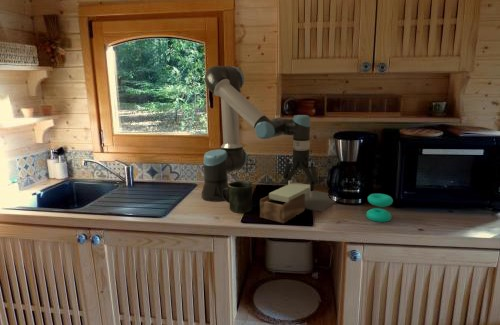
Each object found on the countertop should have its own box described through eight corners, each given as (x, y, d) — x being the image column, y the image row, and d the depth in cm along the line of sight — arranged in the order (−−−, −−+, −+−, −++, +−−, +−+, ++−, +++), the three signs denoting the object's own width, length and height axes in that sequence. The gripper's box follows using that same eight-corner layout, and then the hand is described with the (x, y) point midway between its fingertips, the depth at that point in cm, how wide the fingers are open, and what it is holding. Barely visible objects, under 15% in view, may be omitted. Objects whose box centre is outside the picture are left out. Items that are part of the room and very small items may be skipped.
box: (259, 217, 153) (260, 199, 151) (281, 205, 167) (282, 189, 165) (283, 223, 146) (284, 204, 144) (304, 210, 160) (304, 193, 158)
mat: (286, 204, 169) (286, 203, 168) (311, 191, 189) (311, 189, 189) (321, 212, 158) (321, 211, 158) (343, 197, 179) (343, 196, 178)
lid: (268, 198, 155) (269, 193, 155) (293, 186, 172) (294, 181, 172) (288, 203, 149) (288, 197, 149) (312, 190, 167) (312, 185, 166)
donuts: (369, 199, 145) (366, 192, 154) (367, 222, 147) (364, 213, 156) (395, 200, 143) (390, 193, 152) (393, 223, 145) (388, 215, 155)
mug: (249, 214, 156) (249, 188, 153) (218, 211, 160) (217, 186, 157) (255, 206, 166) (255, 182, 163) (226, 204, 170) (225, 179, 167)
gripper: (276, 147, 167) (275, 192, 171) (320, 153, 153) (318, 201, 158) (284, 145, 172) (283, 189, 177) (327, 150, 159) (325, 197, 164)
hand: (299, 195), depth 168 cm, fingers closed on lid, 10 cm apart
